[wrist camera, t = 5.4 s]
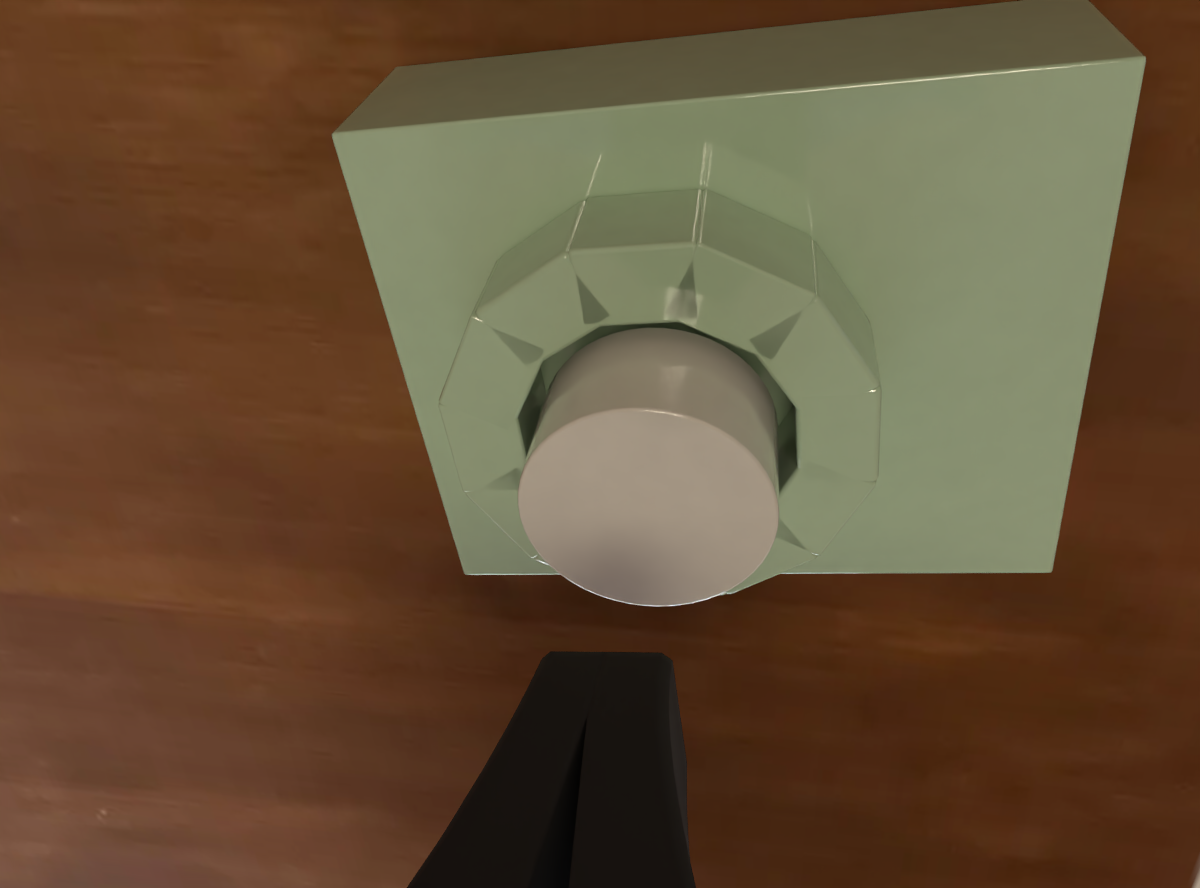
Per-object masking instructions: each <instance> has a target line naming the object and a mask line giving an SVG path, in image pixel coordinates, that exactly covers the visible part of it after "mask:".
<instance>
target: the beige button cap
mask: <svg viewBox="0 0 1200 888" xmlns="http://www.w3.org/2000/svg"><path fill="white" fill-rule="evenodd" d="M518 508H519V515H520V518H521V521H522V524H523V527H524V530H525V532H526V534H527V536H528V538H529V540H530V542H531V543H532V545H533V546H534V548H535V549H536V551H537V552H538V553H539V555H540V556H541V557H542V558H543V559H544V560H545V561H546V562H547V563H548V564H549V565H550V566H551V567H552V568H553V569H554V570H555V571H557V572H558V573H559V574H560V575H562V576H563V577H565V578H566V579H567V580H569V581H570V582H572V583H574V584H576V585H577V586H579V587H581V588H583V589H585V590H587V591H589V592H592V593H594V594H596V595H599V596H602V597H605V598H608V599H611V600H614V601H619V602H623V603H627V604H634V605H641V606H657V607H662V606H678V605H685V604H691V603H695V602H699V601H704V600H707V599H710V598H712V597H715V596H718V595H720V594H722V593H724V592H726V591H728V590H730V589H732V588H734V587H735V586H737V585H738V584H740V583H741V582H743V581H744V580H745V579H747V578H748V577H749V576H750V575H751V574H752V573H754V572H755V570H756V569H757V568H758V567H759V566H760V565H761V564H762V562H763V561H764V559H765V558H766V556H767V555H768V553H769V552H770V550H771V548H772V545H773V543H774V541H775V538H776V534H777V530H778V526H779V450H778V420H777V413H776V409H775V406H774V402H773V399H772V397H771V395H770V393H769V391H768V389H767V387H766V386H765V384H764V383H763V381H762V380H761V378H760V377H759V375H758V374H757V373H756V372H755V371H754V370H753V369H752V367H751V366H750V365H749V364H748V363H746V362H745V361H744V360H743V359H742V358H741V357H740V356H738V355H737V354H736V353H734V352H733V351H731V350H730V349H728V348H727V347H725V346H723V345H721V344H719V343H717V342H715V341H713V340H711V339H709V338H706V337H703V336H701V335H698V334H695V333H691V332H687V331H683V330H678V329H670V328H637V329H629V330H625V331H620V332H616V333H613V334H610V335H607V336H605V337H602V338H599V339H598V340H596V341H594V342H592V343H590V344H588V345H586V346H585V347H583V348H582V349H580V350H579V351H578V352H576V353H575V354H574V355H572V356H571V357H570V358H569V359H568V360H567V361H566V362H565V363H564V364H563V365H562V367H561V368H560V369H559V370H558V372H557V373H556V375H555V376H554V378H553V380H552V382H551V383H550V385H549V388H548V391H547V394H546V396H545V399H544V403H543V406H542V409H541V412H540V415H539V419H538V422H537V425H536V428H535V431H534V435H533V438H532V441H531V444H530V448H529V451H528V454H527V457H526V460H525V464H524V467H523V470H522V473H521V476H520V481H519V486H518Z"/></svg>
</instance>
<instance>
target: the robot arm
mask: <svg viewBox="0 0 1200 888" xmlns="http://www.w3.org/2000/svg"><path fill="white" fill-rule="evenodd" d="M407 888H696V886H695V882H694V877H693V873H692V868H691V864H690V855H689V841H688V822H687V761H686V754H685V747H684V739H683V732H682V725H681V718H680V711H679V704H678V697H677V690H676V683H675V675H674V668H673V661H672V660H671V659H670V658H668V657H667V656H665V655H664V654H662V653H640V652H553V651H551V652H549V653H548V654H547V655H546V656H545V657H543V658H542V660H541V662H540V664H539V666H538V668H537V670H536V672H535V674H534V676H533V678H532V680H531V682H530V684H529V686H528V688H527V690H526V692H525V694H524V696H523V698H522V700H521V702H520V704H519V706H518V708H517V709H516V711H515V713H514V715H513V717H512V719H511V721H510V722H509V724H508V726H507V728H506V730H505V732H504V733H503V735H502V737H501V739H500V740H499V742H498V744H497V746H496V747H495V749H494V751H493V753H492V754H491V756H490V758H489V760H488V762H487V763H486V765H485V767H484V768H483V770H482V772H481V773H480V775H479V777H478V778H477V780H476V782H475V783H474V785H473V786H472V788H471V790H470V791H469V793H468V795H467V796H466V798H465V800H464V801H463V803H462V804H461V806H460V808H459V809H458V811H457V813H456V814H455V816H454V818H453V819H452V821H451V822H450V824H449V826H448V827H447V829H446V830H445V832H444V833H443V835H442V837H441V838H440V840H439V841H438V843H437V844H436V846H435V847H434V849H433V850H432V852H431V853H430V855H429V856H428V858H427V859H426V860H425V862H424V863H423V865H422V866H421V868H420V869H419V871H418V872H417V874H416V875H415V877H414V878H413V880H412V881H411V882H410V884H409V885H408V887H407Z"/></svg>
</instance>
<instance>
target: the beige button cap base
mask: <svg viewBox="0 0 1200 888" xmlns="http://www.w3.org/2000/svg"><path fill="white" fill-rule="evenodd" d="M1145 64H1146V56H1145V55H1144V54H1143V53H1142V52H1141V51H1140V50H1139V49H1138V48H1137V47H1136V46H1135V45H1134V44H1133V43H1132V42H1131V41H1130V40H1129V39H1128V38H1127V37H1126V36H1125V35H1124V34H1123V33H1122V32H1121V31H1120V30H1119V29H1118V28H1117V27H1116V26H1115V25H1114V24H1113V23H1112V22H1111V21H1110V20H1109V19H1107V18H1106V17H1105V16H1104V15H1103V14H1102V13H1101V12H1100V11H1099V10H1098V9H1097V8H1096V7H1095V6H1094V5H1093V4H1092V3H1091V2H1090V1H1089V0H1022V1H1013V2H1003V3H994V4H984V5H975V6H966V7H956V8H947V9H937V10H928V11H919V12H909V13H900V14H890V15H881V16H872V17H862V18H853V19H844V20H834V21H825V22H815V23H806V24H797V25H787V26H778V27H768V28H759V29H750V30H740V31H731V32H721V33H712V34H703V35H693V36H684V37H674V38H665V39H656V40H646V41H637V42H627V43H618V44H609V45H599V46H590V47H581V48H571V49H562V50H552V51H543V52H534V53H524V54H515V55H505V56H496V57H487V58H477V59H468V60H458V61H449V62H440V63H430V64H421V65H411V66H402V67H396V68H394V69H393V71H392V72H391V73H390V74H389V75H388V76H387V77H386V78H385V79H384V80H383V81H382V82H381V83H380V84H379V85H378V86H377V87H376V88H375V89H374V90H373V91H372V92H371V93H370V94H369V95H368V96H367V98H366V99H365V100H364V101H363V102H362V103H361V104H360V105H359V106H358V107H357V108H356V109H355V110H354V111H353V112H352V113H351V114H350V115H349V116H348V117H347V118H346V119H345V120H344V121H343V122H342V123H341V124H340V126H339V127H338V128H337V129H336V130H335V131H334V132H333V133H332V138H333V142H334V145H335V148H336V152H337V155H338V158H339V161H340V165H341V168H342V171H343V175H344V178H345V181H346V185H347V188H348V191H349V195H350V198H351V201H352V204H353V208H354V211H355V214H356V218H357V221H358V224H359V228H360V231H361V234H362V237H363V241H364V244H365V247H366V251H367V254H368V257H369V261H370V264H371V267H372V270H373V274H374V277H375V280H376V284H377V287H378V290H379V294H380V297H381V300H382V304H383V307H384V310H385V313H386V317H387V320H388V323H389V327H390V330H391V333H392V337H393V340H394V343H395V346H396V350H397V353H398V356H399V360H400V363H401V366H402V370H403V373H404V376H405V380H406V383H407V386H408V389H409V393H410V396H411V399H412V403H413V406H414V409H415V413H416V416H417V419H418V422H419V426H420V429H421V432H422V436H423V439H424V442H425V446H426V449H427V452H428V456H429V459H430V462H431V465H432V469H433V472H434V475H435V479H436V482H437V485H438V489H439V492H440V495H441V498H442V502H443V505H444V508H445V512H446V515H447V518H448V522H449V525H450V528H451V532H452V535H453V538H454V541H455V545H456V548H457V551H458V555H459V558H460V561H461V565H462V568H463V571H464V574H465V575H560V574H559V573H558V572H557V571H555V570H554V569H553V568H552V567H551V566H550V565H549V564H548V563H547V562H546V561H545V560H544V559H543V558H542V557H541V556H540V555H539V553H538V552H537V551H536V549H535V548H534V546H533V545H532V543H531V542H530V540H529V538H528V536H527V534H526V532H525V530H524V527H523V524H522V521H521V518H520V515H519V508H518V486H519V481H520V476H521V473H522V470H523V467H524V464H525V460H526V457H527V454H528V451H529V448H530V444H531V441H532V438H533V435H534V431H535V428H536V425H537V422H538V419H539V415H540V412H541V409H542V406H543V403H544V399H545V396H546V394H547V391H548V388H549V385H550V383H551V382H552V380H553V378H554V376H555V375H556V373H557V372H558V370H559V369H560V368H561V367H562V365H563V364H564V363H565V362H566V361H567V360H568V359H569V358H570V357H571V356H572V355H574V354H575V353H576V352H578V351H579V350H580V349H582V348H583V347H585V346H586V345H588V344H590V343H592V342H594V341H596V340H598V339H599V338H602V337H605V336H607V335H610V334H613V333H616V332H620V331H625V330H629V329H637V328H670V329H678V330H683V331H687V332H691V333H695V334H698V335H701V336H703V337H706V338H709V339H711V340H713V341H715V342H717V343H719V344H721V345H723V346H725V347H727V348H728V349H730V350H731V351H733V352H734V353H736V354H737V355H738V356H740V357H741V358H742V359H743V360H744V361H745V362H746V363H748V364H749V365H750V366H751V367H752V369H753V370H754V371H755V372H756V373H757V374H758V375H759V377H760V378H761V380H762V381H763V383H764V384H765V386H766V387H767V389H768V391H769V393H770V395H771V397H772V399H773V402H774V406H775V409H776V413H777V420H778V450H779V526H778V530H777V534H776V538H775V541H774V543H773V545H772V548H771V550H770V552H769V553H768V555H767V556H766V558H765V559H764V561H763V562H762V564H761V565H760V566H759V567H758V568H757V569H756V570H755V572H754V573H752V574H751V575H750V576H749V577H748V578H747V579H745V580H744V581H743V582H741V583H740V584H738V585H737V586H735V587H734V588H732V589H730V590H728V591H726V592H724V593H722V594H720V595H724V594H726V593H727V594H733V593H735V592H738V591H740V590H743V589H745V588H747V587H750V586H752V585H754V584H757V583H759V582H762V581H764V580H766V579H769V578H771V577H774V576H776V575H778V574H833V573H1050V572H1052V570H1053V564H1054V559H1055V553H1056V548H1057V543H1058V537H1059V532H1060V526H1061V521H1062V515H1063V510H1064V504H1065V499H1066V494H1067V488H1068V483H1069V477H1070V472H1071V466H1072V461H1073V455H1074V450H1075V445H1076V439H1077V434H1078V428H1079V423H1080V417H1081V412H1082V406H1083V401H1084V396H1085V390H1086V385H1087V379H1088V374H1089V368H1090V363H1091V357H1092V352H1093V347H1094V341H1095V336H1096V330H1097V325H1098V319H1099V314H1100V309H1101V303H1102V298H1103V292H1104V287H1105V281H1106V276H1107V270H1108V265H1109V260H1110V254H1111V249H1112V243H1113V238H1114V232H1115V227H1116V221H1117V216H1118V211H1119V205H1120V200H1121V194H1122V189H1123V183H1124V178H1125V172H1126V167H1127V162H1128V156H1129V151H1130V145H1131V140H1132V134H1133V129H1134V123H1135V118H1136V113H1137V107H1138V102H1139V96H1140V91H1141V85H1142V80H1143V75H1144V69H1145Z"/></svg>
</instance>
